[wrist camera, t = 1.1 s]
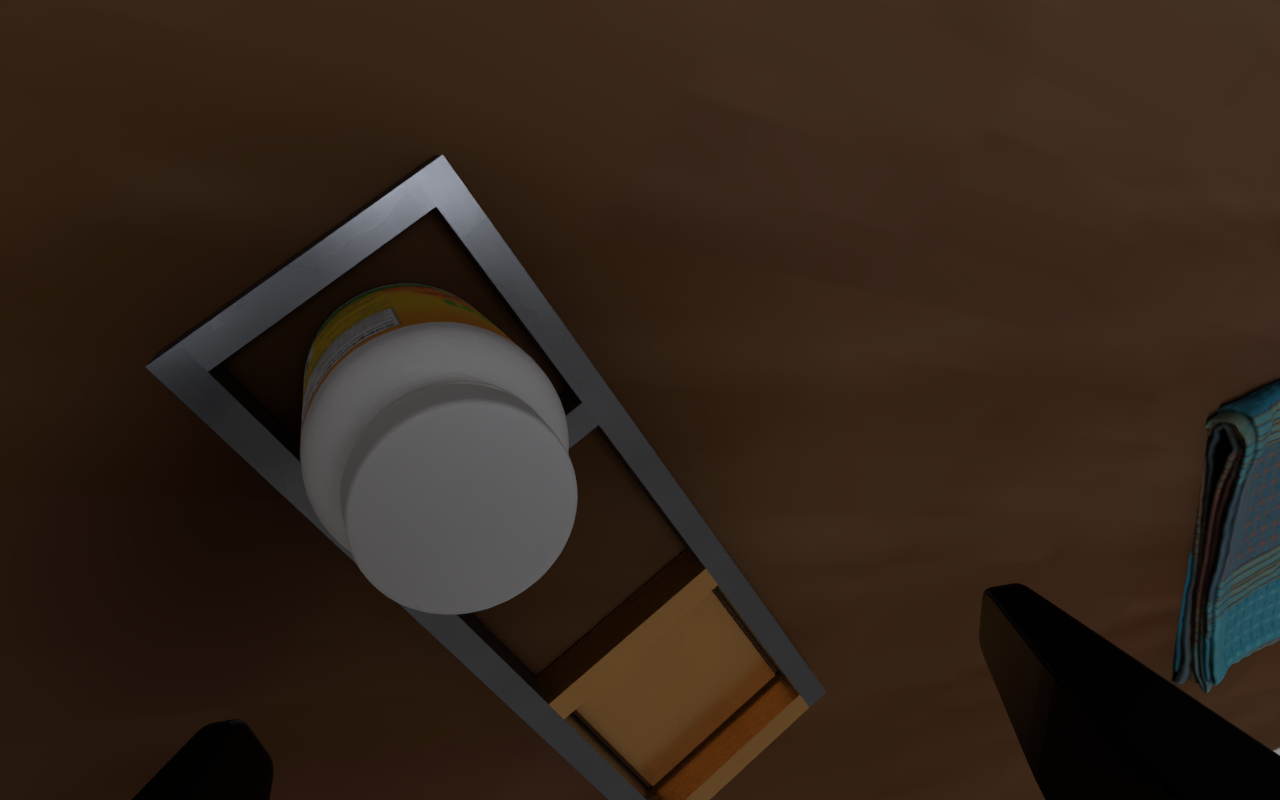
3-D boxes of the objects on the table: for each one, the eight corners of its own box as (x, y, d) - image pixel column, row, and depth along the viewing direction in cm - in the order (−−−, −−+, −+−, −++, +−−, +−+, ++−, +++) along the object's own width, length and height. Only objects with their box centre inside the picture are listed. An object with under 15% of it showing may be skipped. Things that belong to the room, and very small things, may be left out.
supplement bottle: (537, 377, 23) (670, 502, 14) (403, 498, 22) (458, 705, 14) (412, 239, 20) (483, 289, 12) (258, 372, 20) (214, 527, 11)
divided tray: (643, 816, 30) (659, 846, 28) (157, 353, 19) (144, 366, 17) (804, 669, 31) (826, 691, 29) (434, 155, 20) (442, 154, 19)
